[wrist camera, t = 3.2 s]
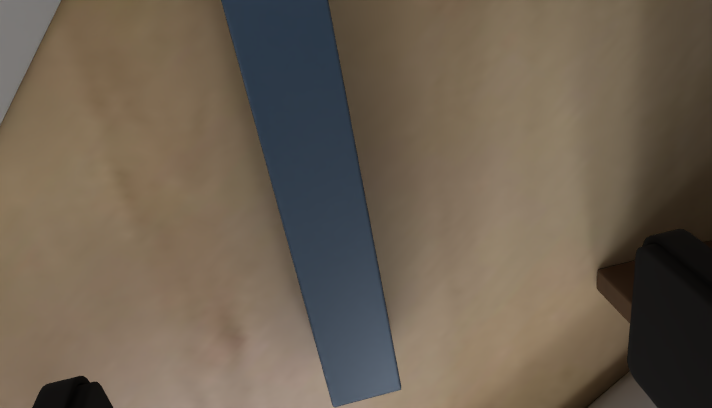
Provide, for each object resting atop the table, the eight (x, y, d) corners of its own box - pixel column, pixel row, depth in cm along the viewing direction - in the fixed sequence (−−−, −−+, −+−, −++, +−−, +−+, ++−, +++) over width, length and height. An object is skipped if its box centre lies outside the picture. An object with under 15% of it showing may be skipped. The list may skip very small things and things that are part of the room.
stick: (324, 359, 26) (333, 408, 24) (170, -212, 16) (155, -238, 13) (386, 343, 27) (402, 390, 24) (273, -231, 16) (279, -260, 14)
